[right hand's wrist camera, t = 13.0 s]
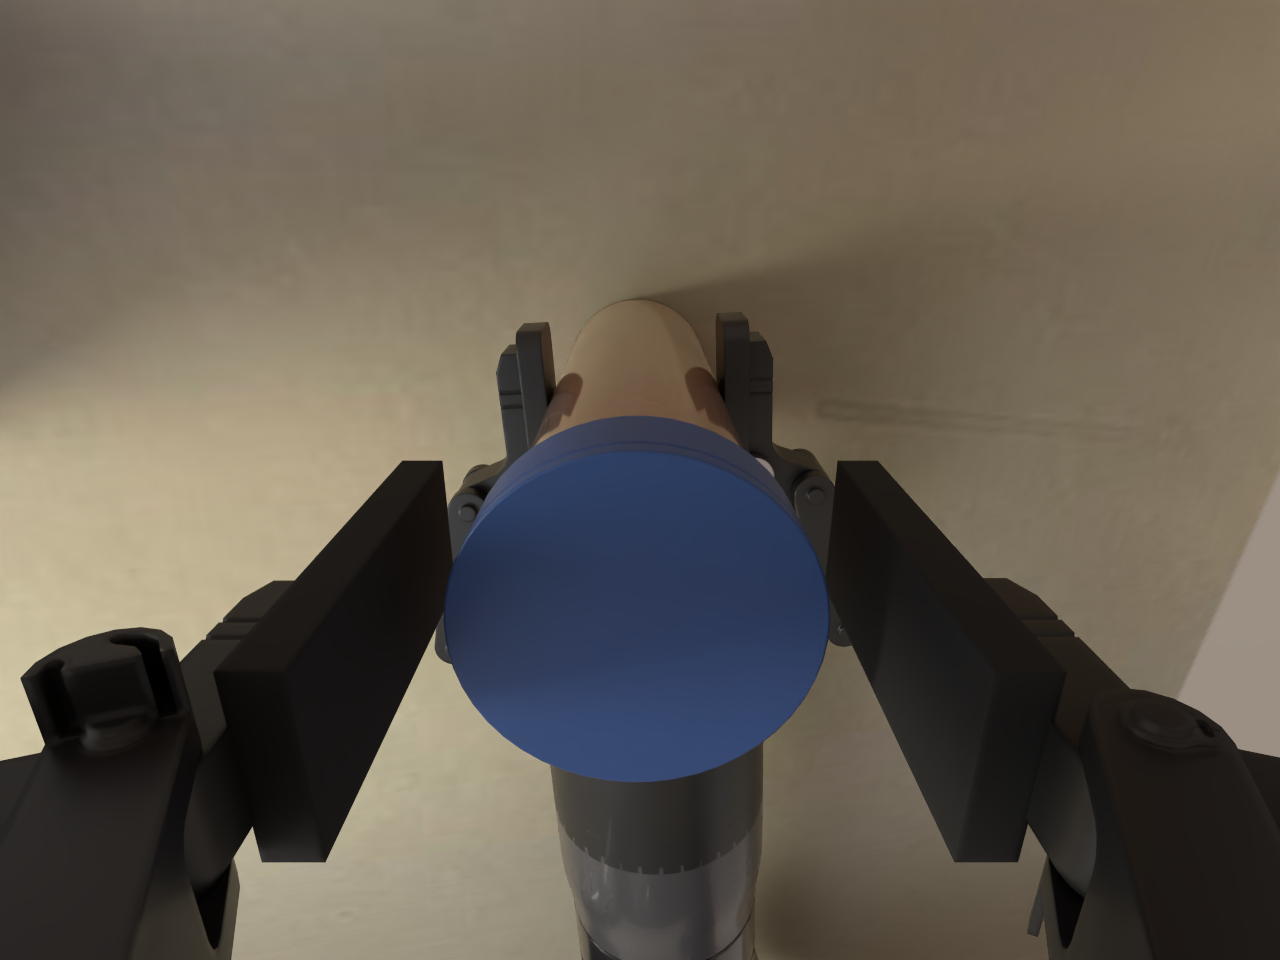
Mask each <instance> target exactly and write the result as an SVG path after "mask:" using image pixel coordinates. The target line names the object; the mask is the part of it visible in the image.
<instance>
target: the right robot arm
mask: <svg viewBox="0 0 1280 960" xmlns="http://www.w3.org/2000/svg"><path fill="white" fill-rule="evenodd" d="M452 567H453V557H452V548H451V538H450V529H449V520H448V510H447V501H446V491H445V482H444V472H443V463H442V461H402V462H401V463H400V464H399V465H398V466H397V467H396V468H395V470H394V471H393V472H392V473H391V474H390V475H389V476H388V477H387V479H386V480H385V481H384V482H383V483H382V484H381V485H380V486H379V487H378V489H377V490H376V491H375V492H374V493H373V494H372V495H371V496H370V497H369V499H368V500H367V501H366V502H365V503H364V504H363V505H362V506H361V507H360V509H359V510H358V511H357V512H356V513H355V514H354V515H353V516H352V517H351V519H350V520H349V521H348V522H347V523H346V524H345V525H344V526H343V528H342V529H341V530H340V531H339V532H338V533H337V534H336V535H335V536H334V538H333V539H332V540H331V541H330V542H329V543H328V544H327V545H326V546H325V548H324V549H323V550H322V551H321V552H320V553H319V554H318V555H317V556H316V558H315V559H314V560H313V561H312V562H311V563H310V564H309V565H308V567H307V568H306V569H305V570H304V571H303V572H302V573H301V574H300V575H299V577H298V578H297V579H296V580H295V581H272V582H271V583H269V584H267V585H265V586H264V587H262V588H260V589H258V590H257V591H255V592H253V593H251V594H249V595H248V596H246V597H244V598H243V599H242V600H241V601H240V602H239V603H238V604H237V605H236V606H235V607H234V608H233V609H232V610H231V611H230V612H229V613H228V614H227V615H226V616H225V617H224V618H223V623H218V624H217V625H216V626H215V627H214V628H213V629H212V630H211V631H210V632H209V633H208V634H207V635H206V640H201V641H200V642H199V643H198V644H197V645H196V646H195V647H194V648H193V649H192V650H191V651H190V652H189V653H188V654H187V655H186V656H185V657H184V659H183V660H182V661H181V662H180V663H179V659H178V655H177V652H176V648H175V645H174V641H173V637H171V636H170V635H168V634H167V633H165V632H164V631H162V630H158V629H151V628H143V627H139V628H128V629H118V630H112V631H108V632H104V633H100V634H97V635H93V636H89V637H85V638H83V639H81V640H78V641H76V642H73V643H71V644H68V645H66V646H63V647H61V648H59V649H57V650H55V651H54V652H52V653H50V654H49V655H47V656H45V657H44V658H42V659H41V660H39V661H37V662H36V663H35V664H34V665H33V666H32V667H31V668H30V669H29V670H28V671H27V672H26V673H25V674H24V675H23V676H22V677H21V678H20V679H21V681H22V684H23V687H24V689H25V692H26V695H27V697H28V700H29V703H30V705H31V708H32V710H33V713H34V716H35V718H36V721H37V724H38V726H39V729H40V732H41V734H42V737H43V740H44V742H45V746H44V748H43V750H42V752H41V753H37V754H32V755H27V756H22V757H18V758H13V759H8V760H3V761H0V960H231V956H232V948H233V940H234V931H235V923H236V915H237V907H238V899H239V890H240V884H239V878H238V872H237V868H236V865H235V861H234V858H233V857H234V856H235V854H236V852H237V851H238V849H239V848H240V846H241V844H242V843H243V841H244V839H245V838H246V836H247V835H248V833H249V831H250V830H251V828H252V826H253V829H254V833H255V837H256V841H257V845H258V849H259V853H260V857H261V860H262V862H326V860H327V858H328V856H329V853H330V851H331V849H332V847H333V845H334V843H335V841H336V839H337V836H338V834H339V832H340V830H341V828H342V826H343V824H344V822H345V820H346V817H347V815H348V813H349V811H350V809H351V807H352V805H353V803H354V801H355V798H356V796H357V794H358V792H359V790H360V788H361V786H362V784H363V781H364V779H365V777H366V775H367V773H368V771H369V769H370V767H371V765H372V762H373V760H374V758H375V756H376V754H377V752H378V750H379V748H380V745H381V743H382V741H383V739H384V737H385V735H386V733H387V731H388V729H389V726H390V724H391V722H392V720H393V718H394V716H395V714H396V712H397V709H398V707H399V705H400V703H401V701H402V699H403V697H404V695H405V693H406V690H407V688H408V686H409V684H410V682H411V680H412V678H413V676H414V673H415V671H416V669H417V667H418V665H419V663H420V661H421V659H422V657H423V654H424V652H425V650H426V648H427V646H428V644H429V642H430V640H431V638H432V635H433V633H434V631H435V629H436V627H437V625H438V623H439V621H440V618H441V616H442V614H443V612H444V600H445V594H446V588H447V582H448V578H449V575H450V572H451V570H452ZM825 580H826V585H827V589H828V594H829V597H830V599H831V602H832V604H833V606H834V608H835V610H836V612H837V614H838V616H839V618H840V621H841V623H842V625H843V627H844V629H845V631H846V633H847V635H848V638H849V640H850V642H851V644H852V646H853V648H854V650H855V652H856V654H857V657H858V659H859V661H860V663H861V665H862V667H863V669H864V671H865V674H866V676H867V678H868V680H869V682H870V684H871V686H872V688H873V690H874V693H875V695H876V697H877V699H878V701H879V703H880V705H881V707H882V710H883V712H884V714H885V716H886V718H887V720H888V722H889V724H890V726H891V729H892V731H893V733H894V735H895V737H896V739H897V741H898V743H899V746H900V748H901V750H902V752H903V754H904V756H905V758H906V760H907V762H908V765H909V767H910V769H911V771H912V773H913V775H914V777H915V779H916V781H917V784H918V786H919V788H920V790H921V792H922V794H923V796H924V798H925V801H926V803H927V805H928V807H929V809H930V811H931V813H932V815H933V817H934V820H935V822H936V824H937V826H938V828H939V830H940V832H941V834H942V837H943V839H944V841H945V843H946V845H947V847H948V849H949V851H950V853H951V856H952V858H953V860H954V862H1018V860H1019V856H1020V853H1021V849H1022V845H1023V841H1024V837H1025V833H1026V829H1027V826H1028V824H1029V826H1030V828H1031V829H1032V831H1033V832H1034V834H1035V836H1036V837H1037V839H1038V840H1039V842H1040V844H1041V845H1042V847H1043V849H1044V850H1045V852H1046V853H1047V858H1046V861H1045V865H1044V868H1043V872H1042V876H1041V879H1040V883H1039V886H1038V890H1037V894H1036V897H1035V901H1034V904H1033V908H1032V912H1031V915H1030V920H1029V926H1028V931H1027V934H1030V935H1033V936H1037V937H1038V934H1039V931H1040V927H1041V924H1042V921H1043V920H1044V921H1045V929H1046V937H1047V945H1048V954H1049V960H1280V758H1279V757H1274V756H1269V755H1264V754H1259V753H1254V752H1249V751H1245V750H1240V749H1238V748H1237V746H1236V744H1235V743H1234V742H1233V740H1232V739H1231V738H1230V737H1229V736H1228V734H1227V733H1226V732H1225V731H1224V729H1223V728H1222V727H1221V726H1220V725H1218V724H1217V723H1215V722H1214V721H1213V720H1211V719H1210V718H1208V717H1207V716H1206V715H1204V714H1203V713H1201V712H1200V711H1198V710H1196V709H1194V708H1192V707H1190V706H1188V705H1186V704H1183V703H1181V702H1179V701H1177V700H1175V699H1173V698H1169V697H1166V696H1162V695H1159V694H1156V693H1152V692H1149V691H1145V690H1136V689H1130V688H1129V687H1128V686H1127V685H1126V684H1125V683H1124V682H1123V681H1122V680H1121V679H1120V678H1119V677H1118V676H1117V675H1116V674H1115V673H1114V672H1113V671H1112V670H1111V669H1110V668H1109V667H1108V666H1107V665H1106V664H1105V663H1104V662H1103V661H1102V660H1101V659H1100V658H1099V657H1098V656H1097V655H1096V654H1095V653H1094V652H1093V651H1092V650H1091V649H1090V648H1089V647H1088V646H1087V645H1086V644H1085V643H1084V642H1083V641H1082V640H1081V639H1080V638H1079V637H1075V636H1074V632H1073V631H1072V630H1071V629H1070V628H1069V627H1068V626H1067V625H1066V624H1065V623H1064V622H1063V621H1062V620H1058V618H1057V617H1058V616H1057V615H1056V614H1055V613H1054V612H1053V611H1052V610H1051V609H1050V608H1049V607H1048V606H1047V605H1046V604H1045V603H1044V602H1043V601H1042V600H1041V599H1040V598H1039V597H1038V596H1037V595H1035V594H1034V593H1032V592H1030V591H1028V590H1027V589H1025V588H1023V587H1021V586H1019V585H1018V584H1016V583H1014V582H1012V581H1011V580H1009V579H1007V578H982V577H981V575H980V574H979V573H978V572H977V571H976V570H975V569H974V568H973V567H972V565H971V564H970V563H969V562H968V561H967V560H966V559H965V558H964V557H963V555H962V554H961V553H960V552H959V551H958V550H957V549H956V548H955V546H954V545H953V544H952V543H951V542H950V541H949V540H948V539H947V538H946V536H945V535H944V534H943V533H942V532H941V531H940V530H939V529H938V528H937V526H936V525H935V524H934V523H933V522H932V521H931V520H930V519H929V518H928V516H927V515H926V514H925V513H924V512H923V511H922V510H921V509H920V507H919V506H918V505H917V504H916V503H915V502H914V501H913V500H912V499H911V497H910V496H909V495H908V494H907V493H906V492H905V491H904V490H903V489H902V487H901V486H900V485H899V484H898V483H897V482H896V481H895V480H894V479H893V477H892V476H891V475H890V474H889V473H888V472H887V471H886V470H885V469H884V467H883V466H882V465H881V464H880V463H879V462H878V461H838V463H837V472H836V482H835V491H834V501H833V510H832V519H831V529H830V538H829V548H828V557H827V567H826V576H825Z"/></svg>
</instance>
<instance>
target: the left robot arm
mask: <svg viewBox="0 0 1280 960" xmlns="http://www.w3.org/2000/svg"><path fill="white" fill-rule="evenodd" d="M716 370H717V386H718V388H719V391H720V393H721V395H722V398H723V400H724V403H725V405H726V407H727V410H728V412H729V415H730V417H731V419H732V422H733V424H734V426H735V429H736V431H737V434H738V436H739V438H740V441H741V443H742V446H743V448H744V450H745V451H747V452H748V453H749V454H751V455H752V456H754V457H755V458H756V459H757V460H758V461H759V462H760V463H761V464H762V465H763V466H764V467H765V468H766V469H767V470H768V471H769V472H770V473H771V474H772V476H773V477H774V478H775V480H776V481H777V482H778V483H779V485H780V486H781V487H782V488H783V490H784V492H785V494H786V495H787V497H788V499H789V501H790V502H791V504H792V506H793V508H794V510H795V512H796V514H797V516H798V518H799V520H800V522H801V524H802V526H803V528H804V530H805V532H806V534H807V536H808V538H809V540H810V542H811V544H812V546H813V548H814V550H815V552H816V554H817V557H818V560H819V562H820V565H821V567H822V570H823V572H824V576H826V567H827V557H828V548H829V538H830V529H831V519H832V510H833V501H834V491H835V486H834V485H833V483H832V482H831V480H830V479H829V477H828V476H827V474H826V473H825V471H824V470H823V468H822V467H821V465H820V464H819V462H818V461H817V459H816V458H815V456H814V455H813V454H812V453H811V452H810V451H808V450H805V449H794V450H790V449H787V448H784V447H780V446H778V445H776V444H774V443H773V442H772V391H773V381H772V378H773V357H772V355H771V352H770V350H769V347H768V345H767V342H766V340H765V339H764V338H763V337H762V336H761V335H760V334H759V332H749V324H748V320H747V318H746V317H745V316H744V315H743V314H742V313H741V312H733V313H717V315H716ZM496 375H497V383H498V390H499V398H500V406H501V413H502V421H503V429H504V436H505V444H506V451H507V457H506V458H505V459H503V460H501V461H499V462H496V463H494V464H492V465H484V464H482V465H477V466H474V467H473V468H471V469H470V470H469V472H468V473H467V475H466V477H465V478H464V481H463V484H462V486H461V488H460V489H459V491H458V492H457V493H456V494H455V495H454V496H453V498H452V499H451V501H450V503H449V505H448V520H449V529H450V538H451V548H452V557H453V564H454V561H455V558H456V556H457V554H458V552H459V550H460V548H461V546H462V544H463V542H464V540H465V538H466V536H467V534H468V532H469V530H470V528H471V526H472V524H473V522H474V520H475V518H476V516H477V514H478V512H479V510H480V508H481V506H482V505H483V503H484V501H485V499H486V497H487V495H488V493H489V492H490V490H491V489H492V488H493V486H494V485H495V483H496V482H497V481H498V479H499V478H500V476H501V475H502V474H503V473H504V472H505V471H506V470H507V469H508V468H509V467H510V466H511V465H512V464H513V463H514V462H515V461H516V460H517V459H518V458H520V457H521V456H522V455H523V454H525V453H526V452H527V451H529V450H530V448H531V446H532V444H533V441H534V439H535V437H536V434H537V432H538V429H539V427H540V425H541V422H542V420H543V418H544V415H545V413H546V411H547V408H548V406H549V404H550V401H551V399H552V396H553V394H554V392H555V389H556V382H555V372H554V362H553V352H552V342H551V333H550V327H549V323H548V322H542V323H524V324H523V325H522V326H521V327H520V329H519V330H518V331H517V333H516V344H515V345H509V346H508V347H507V348H506V350H505V351H504V352H503V353H502V354H501V357H500V361H499V365H498V368H497V372H496ZM829 606H830V626H829V637H828V638H829V640H830V641H831V642H832V643H833V644H835V645H837V646H842V647H846V646H851V645H852V644H851V642H850V640H849V638H848V635H847V633H846V631H845V629H844V627H843V625H842V623H841V621H840V618H839V616H838V614H837V612H836V610H835V608H834V606H833V604H832V602H831V599H830V597H829ZM435 651H436V654H437V655H438V657H439V658H440V659H442V660H443V661H445V662H447V663H450V664H452V662H451V659H450V655H449V652H448V649H447V645H446V637H445V630H444V612H443V614H442V616H441V618H440V621H439V623H438V625H437V627H436V637H435ZM550 766H551V774H552V782H553V790H554V798H555V805H556V813H557V821H558V829H559V836H560V845H561V852H562V857H563V863H564V867H565V872H566V875H567V879H568V882H569V885H570V888H571V890H572V893H573V897H574V901H575V910H576V918H577V926H578V934H579V942H580V949H581V957H582V960H759V959H758V956H757V953H756V950H755V947H754V942H755V886H756V881H757V877H758V872H759V866H760V859H761V852H762V812H763V742H762V743H761V744H759V745H758V746H756V747H755V748H753V749H752V750H750V751H748V752H747V753H745V754H743V755H742V756H740V757H738V758H736V759H734V760H732V761H730V762H728V763H725V764H723V765H721V766H719V767H716V768H713V769H710V770H707V771H704V772H701V773H698V774H695V775H690V776H686V777H681V778H677V779H671V780H662V781H654V782H622V781H610V780H603V779H597V778H592V777H587V776H583V775H579V774H576V773H573V772H569V771H566V770H563V769H560V768H558V767H555V766H553V765H551V764H550Z"/></svg>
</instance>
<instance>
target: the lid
mask: <svg viewBox="0 0 1280 960" xmlns="http://www.w3.org/2000/svg"><path fill="white" fill-rule="evenodd" d="M829 626H830V606H829V594H828V589H827V585H826V580H825V576H824V572H823V570H822V567H821V565H820V562H819V560H818V557H817V554H816V552H815V550H814V548H813V546H812V544H811V542H810V540H809V538H808V536H807V534H806V532H805V530H804V528H803V526H802V524H801V522H800V520H799V518H798V516H797V514H796V512H795V510H794V508H793V506H792V504H791V502H790V501H789V499H788V497H787V495H786V494H785V492H784V490H783V488H782V487H781V486H780V485H779V483H778V482H777V481H776V480H775V478H774V477H773V476H772V474H771V473H770V472H769V471H768V470H767V469H766V468H765V467H764V466H763V465H762V464H761V463H760V462H759V461H758V460H757V459H756V458H755V457H754V456H752V455H751V454H749V453H748V452H747V451H745V450H744V449H743V448H741V447H740V446H738V445H737V444H736V443H734V442H732V441H730V440H728V439H727V438H725V437H723V436H721V435H719V434H717V433H715V432H713V431H710V430H708V429H705V428H703V427H700V426H697V425H695V424H692V423H687V422H683V421H679V420H675V419H671V418H663V417H654V416H618V417H611V418H605V419H598V420H594V421H590V422H587V423H583V424H580V425H576V426H573V427H571V428H569V429H566V430H564V431H562V432H559V433H557V434H554V435H552V436H551V437H549V438H547V439H546V440H544V441H542V442H541V443H539V444H537V445H535V446H534V447H532V448H531V449H530V450H529V451H527V452H526V453H525V454H523V455H522V456H521V457H520V458H518V459H517V460H516V461H515V462H514V463H513V464H512V465H511V466H510V467H509V468H508V469H507V470H506V471H505V472H504V473H503V474H502V475H501V476H500V478H499V479H498V481H497V482H496V483H495V485H494V486H493V488H492V489H491V490H490V492H489V493H488V495H487V497H486V499H485V501H484V503H483V505H482V506H481V508H480V510H479V512H478V514H477V516H476V518H475V520H474V522H473V524H472V526H471V528H470V530H469V532H468V534H467V536H466V538H465V540H464V542H463V544H462V546H461V548H460V550H459V552H458V554H457V556H456V558H455V561H454V564H453V567H452V570H451V572H450V575H449V578H448V582H447V588H446V594H445V600H444V630H445V637H446V645H447V649H448V652H449V655H450V659H451V662H452V666H453V668H454V671H455V673H456V675H457V677H458V679H459V681H460V684H461V686H462V688H463V689H464V691H465V692H466V694H467V696H468V697H469V699H470V700H471V702H472V703H473V705H474V706H475V707H476V709H477V710H478V711H479V712H480V713H481V715H482V716H483V717H484V718H485V719H486V720H487V722H488V723H489V724H491V725H492V726H493V727H494V728H495V729H496V730H497V731H498V732H499V733H500V734H501V735H502V736H504V737H505V738H506V739H508V740H509V741H510V742H512V743H513V744H515V745H516V746H517V747H519V748H520V749H522V750H523V751H525V752H527V753H529V754H530V755H532V756H534V757H536V758H538V759H539V760H541V761H543V762H546V763H548V764H551V765H553V766H555V767H558V768H560V769H563V770H566V771H569V772H573V773H576V774H579V775H583V776H587V777H592V778H597V779H603V780H610V781H622V782H654V781H662V780H671V779H677V778H681V777H686V776H690V775H695V774H698V773H701V772H704V771H707V770H710V769H713V768H716V767H719V766H721V765H723V764H725V763H728V762H730V761H732V760H734V759H736V758H738V757H740V756H742V755H743V754H745V753H747V752H748V751H750V750H752V749H753V748H755V747H756V746H758V745H759V744H761V743H762V742H763V741H764V740H766V739H767V738H768V737H770V736H771V735H772V734H773V733H775V732H776V731H777V730H778V729H779V728H780V727H781V726H782V725H783V724H784V723H785V722H786V721H787V720H788V719H789V718H790V717H791V716H792V714H793V713H794V712H795V710H796V709H797V708H798V707H799V705H800V704H801V703H802V701H803V700H804V699H805V697H806V695H807V693H808V692H809V690H810V688H811V687H812V685H813V683H814V681H815V679H816V677H817V674H818V672H819V669H820V667H821V664H822V662H823V659H824V655H825V650H826V646H827V642H828V637H829Z"/></svg>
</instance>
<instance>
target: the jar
mask: <svg viewBox="0 0 1280 960" xmlns="http://www.w3.org/2000/svg"><path fill="white" fill-rule="evenodd" d="M618 416H654V417H663V418H671V419H675V420H679V421H683V422H687V423H692V424H695V425H697V426H700V427H703V428H705V429H708V430H710V431H713V432H715V433H717V434H719V435H721V436H723V437H725V438H727V439H728V440H730V441H732V442H734V443H736V444H737V445H738V446H740V447H741V448H743V446H742V443H741V441H740V438H739V436H738V434H737V431H736V429H735V426H734V424H733V422H732V419H731V417H730V415H729V412H728V410H727V407H726V405H725V403H724V400H723V398H722V395H721V393H720V391H719V388H718V386H717V383H716V381H715V379H714V376H713V374H712V371H711V369H710V367H709V364H708V362H707V360H706V357H705V355H704V352H703V350H702V348H701V345H700V343H699V340H698V338H697V336H696V334H695V332H694V331H693V329H692V328H691V326H690V325H689V324H688V322H687V321H686V320H685V319H684V318H683V317H682V316H681V315H679V314H678V313H677V312H675V311H674V310H672V309H671V308H669V307H667V306H665V305H662V304H660V303H657V302H653V301H648V300H627V301H622V302H618V303H615V304H612V305H610V306H608V307H606V308H604V309H603V310H601V311H599V312H598V313H597V314H596V315H594V316H593V317H592V318H591V319H590V320H589V321H588V322H587V323H586V325H585V326H584V327H583V329H582V330H581V332H580V334H579V336H578V338H577V340H576V342H575V345H574V347H573V349H572V352H571V354H570V356H569V359H568V361H567V363H566V366H565V368H564V370H563V373H562V375H561V378H560V380H559V382H558V385H557V387H556V389H555V392H554V394H553V396H552V399H551V401H550V404H549V406H548V408H547V411H546V413H545V415H544V418H543V420H542V422H541V425H540V427H539V429H538V432H537V434H536V437H535V439H534V441H533V444H532V446H531V448H532V447H534V446H535V445H537V444H539V443H541V442H542V441H544V440H546V439H547V438H549V437H551V436H552V435H554V434H557V433H559V432H562V431H564V430H566V429H569V428H571V427H573V426H576V425H580V424H583V423H587V422H590V421H594V420H598V419H605V418H611V417H618ZM531 448H530V449H531ZM743 449H744V448H743Z"/></svg>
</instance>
